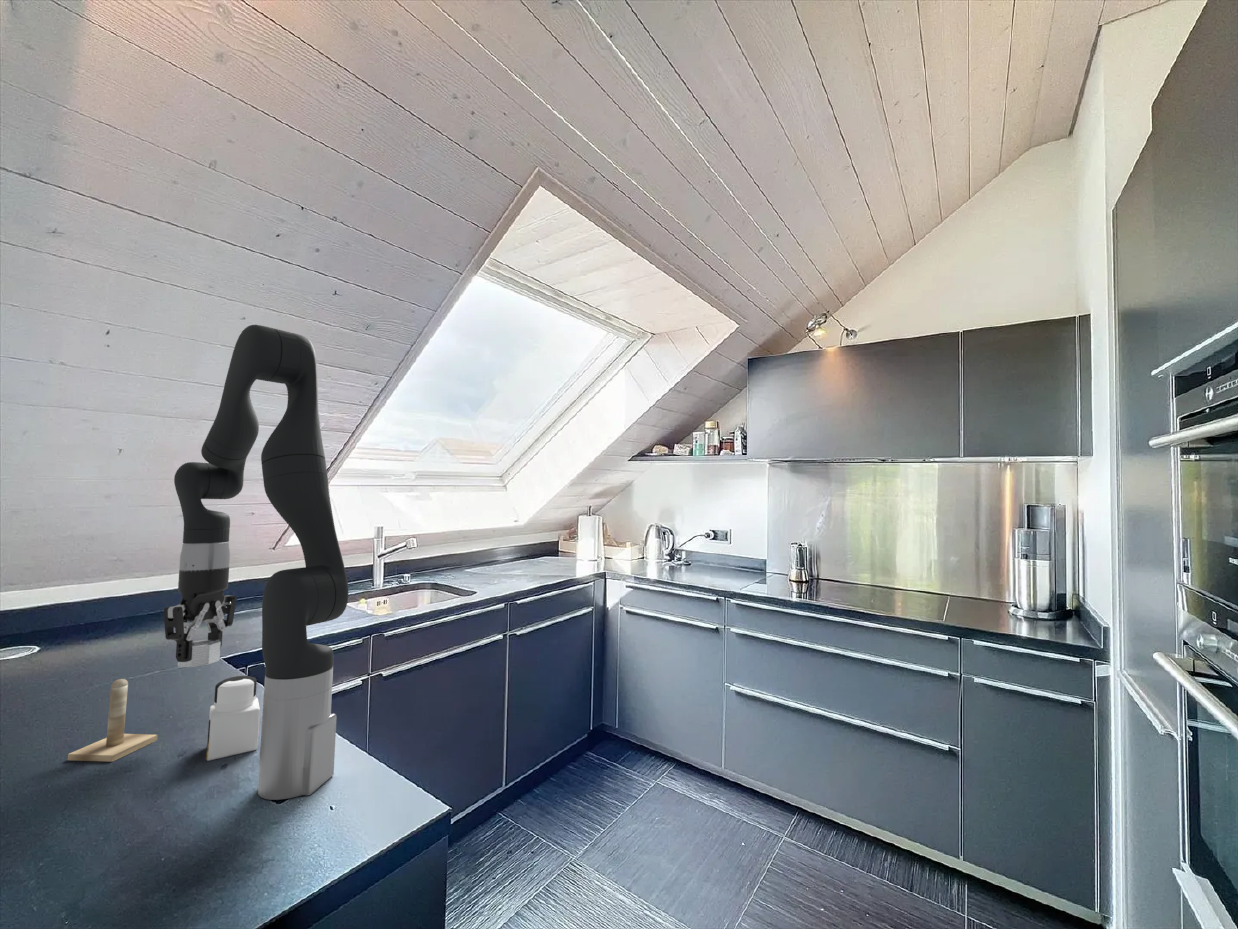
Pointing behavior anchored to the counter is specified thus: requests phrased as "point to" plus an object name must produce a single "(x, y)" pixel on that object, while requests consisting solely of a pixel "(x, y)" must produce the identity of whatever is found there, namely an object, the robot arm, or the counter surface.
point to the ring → (203, 653)
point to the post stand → (114, 732)
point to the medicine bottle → (233, 718)
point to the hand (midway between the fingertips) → (199, 656)
